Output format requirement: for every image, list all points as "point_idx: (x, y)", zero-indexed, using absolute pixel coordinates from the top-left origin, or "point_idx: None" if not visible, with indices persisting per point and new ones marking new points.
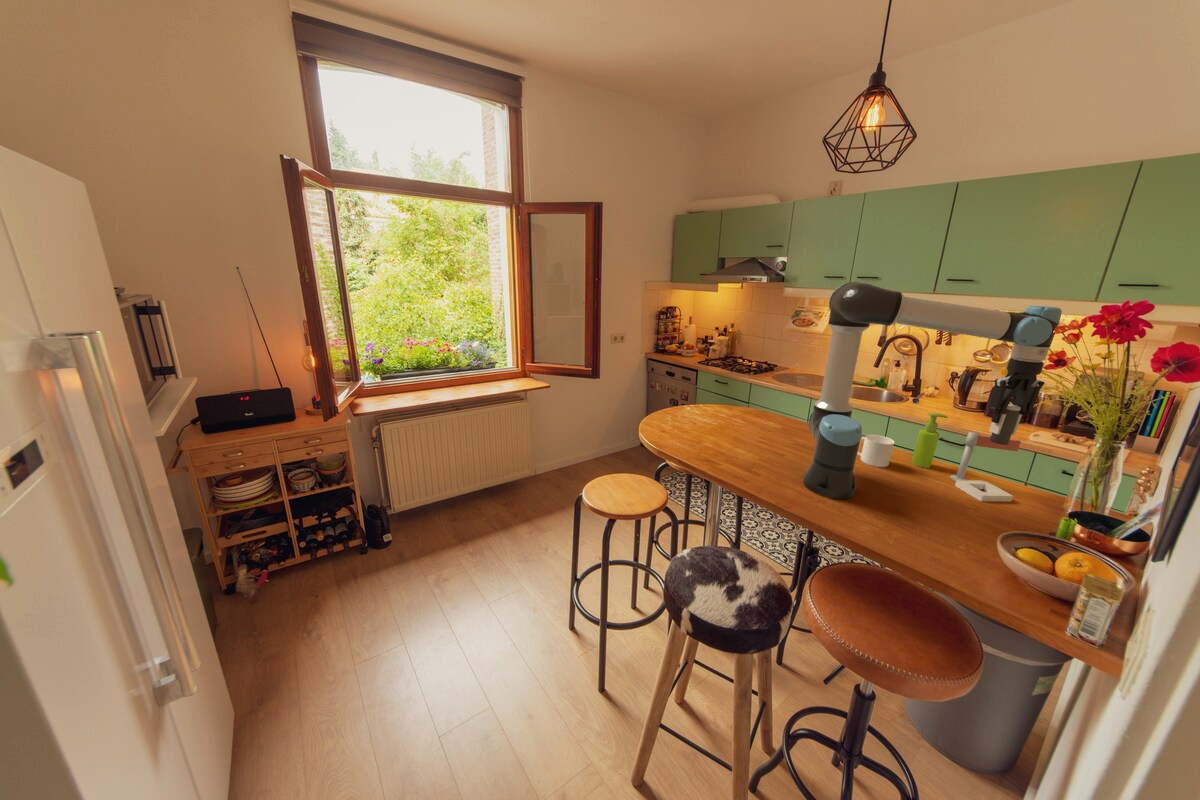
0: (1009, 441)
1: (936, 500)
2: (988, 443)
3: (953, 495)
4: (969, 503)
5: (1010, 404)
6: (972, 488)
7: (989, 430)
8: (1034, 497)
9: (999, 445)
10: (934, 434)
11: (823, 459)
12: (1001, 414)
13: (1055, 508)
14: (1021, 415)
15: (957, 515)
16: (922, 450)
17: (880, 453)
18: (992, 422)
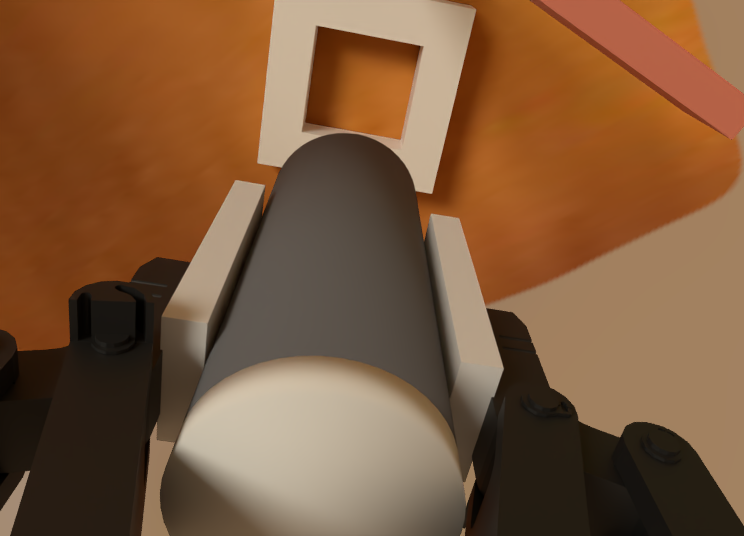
0: (657, 86)
1: (13, 102)
2: None
3: (163, 72)
4: (178, 158)
5: (419, 447)
6: (279, 83)
7: (235, 183)
8: (614, 169)
9: (584, 38)
10: None
11: None
12: (159, 405)
13: (577, 265)
14: (462, 472)
15: (16, 234)
16: None
17: None
18: (207, 235)
